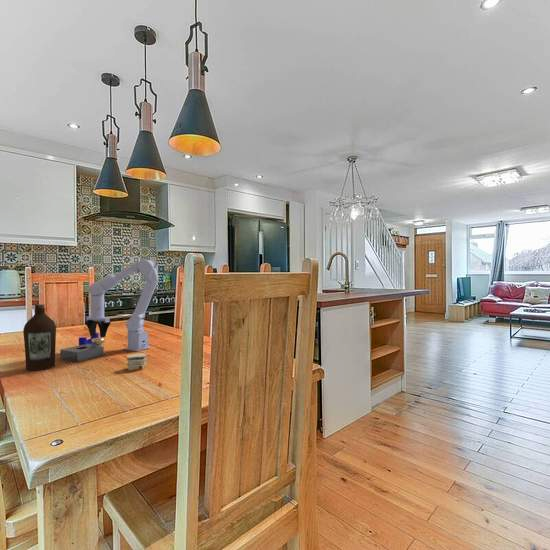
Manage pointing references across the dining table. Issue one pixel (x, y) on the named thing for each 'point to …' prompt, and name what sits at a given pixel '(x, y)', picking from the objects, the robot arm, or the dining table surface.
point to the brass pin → (98, 341)
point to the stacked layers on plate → (136, 361)
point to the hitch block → (81, 352)
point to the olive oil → (39, 340)
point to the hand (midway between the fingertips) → (97, 336)
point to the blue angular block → (84, 340)
